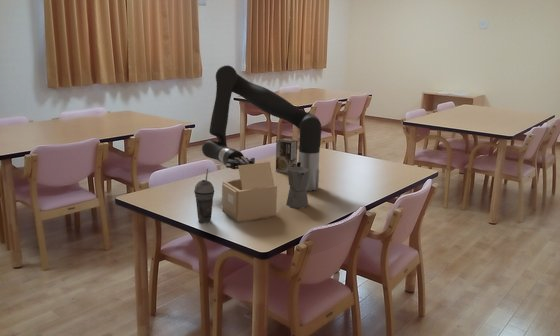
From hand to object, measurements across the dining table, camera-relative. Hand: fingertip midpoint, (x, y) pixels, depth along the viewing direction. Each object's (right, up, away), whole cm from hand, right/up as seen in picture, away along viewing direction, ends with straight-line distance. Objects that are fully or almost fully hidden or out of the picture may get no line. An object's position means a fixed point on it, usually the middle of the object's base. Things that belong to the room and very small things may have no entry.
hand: (251, 168), depth 190 cm
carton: (-1, -18, +6) cm, 19 cm away
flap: (+3, -8, -4) cm, 9 cm away
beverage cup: (-17, -20, -3) cm, 26 cm away
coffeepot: (+18, -15, +19) cm, 30 cm away
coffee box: (+14, -2, +67) cm, 68 cm away
